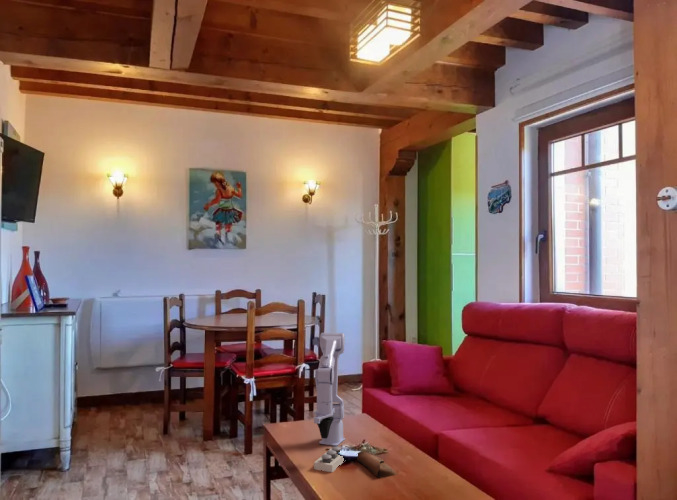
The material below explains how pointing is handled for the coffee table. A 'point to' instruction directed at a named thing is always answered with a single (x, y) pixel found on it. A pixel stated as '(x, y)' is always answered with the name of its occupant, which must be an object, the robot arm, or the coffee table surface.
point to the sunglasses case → (375, 465)
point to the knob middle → (332, 453)
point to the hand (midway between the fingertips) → (324, 437)
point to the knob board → (328, 466)
